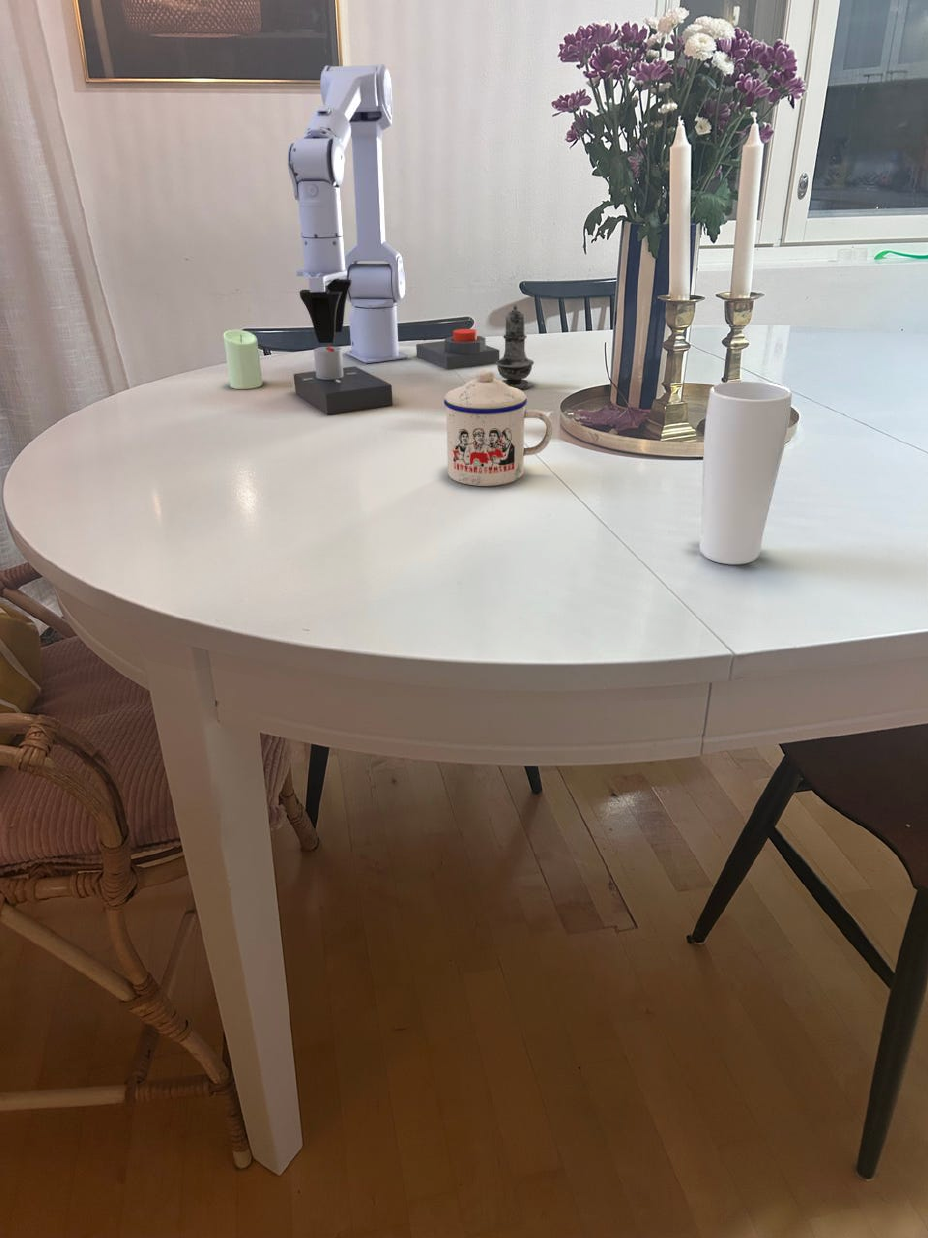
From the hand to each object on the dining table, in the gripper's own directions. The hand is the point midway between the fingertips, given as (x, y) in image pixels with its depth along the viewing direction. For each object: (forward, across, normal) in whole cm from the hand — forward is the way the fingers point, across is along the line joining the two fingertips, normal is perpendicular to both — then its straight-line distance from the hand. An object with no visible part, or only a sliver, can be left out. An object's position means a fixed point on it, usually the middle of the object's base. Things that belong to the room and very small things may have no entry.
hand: (330, 337), depth 132 cm
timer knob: (+6, +1, 0) cm, 6 cm away
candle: (+9, -7, -15) cm, 19 cm away
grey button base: (+9, -25, +17) cm, 31 cm away
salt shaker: (+9, -6, +27) cm, 29 cm away
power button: (+5, -22, +19) cm, 29 cm away
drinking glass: (+8, +58, +46) cm, 75 cm away
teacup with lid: (+9, +36, +25) cm, 44 cm away
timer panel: (+9, +2, +1) cm, 9 cm away
